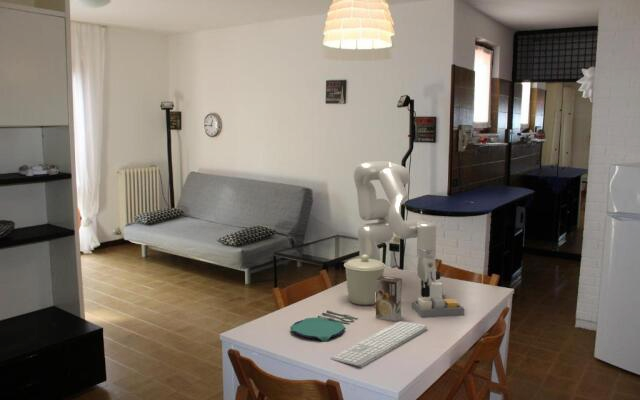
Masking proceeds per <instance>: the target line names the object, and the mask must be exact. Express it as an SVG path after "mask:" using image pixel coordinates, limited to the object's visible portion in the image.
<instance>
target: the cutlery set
mask: <svg viewBox="0 0 640 400" xmlns="http://www.w3.org/2000/svg"><path fill="white" fill-rule="evenodd" d="M321 315H322V316H321ZM321 315H318V316H317V317H306V318H304V319H301V320H299V321H295V322H294V323H293V324H292V325H291V326H290V327H289V329H290V331H291V333H295V335H298V336H301V337H304V338H310V339H319V341H320V340H321V342H327V341H329V339H330V338H333V337H334V338H335V337H337V336H339V335H341V334H342V333H344V331H345V330H346V326H345V325H350V323H351V322H352V323H353V322H354V321H356V320H358V319H359V318H358V317H354V316H352V315H349V314H342V313H338V312H334V311H332V310H328V309H327V310H326V313H325V312H322V313H321ZM325 316H327V317H325ZM332 317H333V318H332ZM335 318H336V319H335ZM338 319H339V320H338ZM344 324H345V325H344Z"/></svg>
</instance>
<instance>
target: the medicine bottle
mask: <svg viewBox="0 0 640 400" xmlns="http://www.w3.org/2000/svg"><path fill="white" fill-rule="evenodd" d="M431 283H432V285H431V286H430V296H429V297H425V298H428V299H429V300H431V297H440V298H442V299H443V290H444V289H443V286H444V285H443V284H444V283H442V281H441V272H440V271H439V270H437V269H436V281H435V282H434V281H432V280H431Z"/></svg>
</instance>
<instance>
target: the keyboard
mask: <svg viewBox="0 0 640 400" xmlns="http://www.w3.org/2000/svg"><path fill="white" fill-rule="evenodd" d="M427 327H428V325H426V324H420V323H413V322H409V321H408V322H407V321H403V320H401V321H400V320H398V321H396V322H395V323H393V324H391V325H389V326H387V327H385V328H383V329H381V330H380V331H377V332H376V333H374V334H372V335H369V336H367V337H366V338H364V339H362V340H360V341H359V342H356V343H355V344H353V345H351V346H350V347H347V348H345V349H343V350H341V351H339V352H338V353H336V354H334V355H332V356H330V358H329V359H330V360H333V361H337V362H340V363H343V364H347V365H351V366H356V367H358V368H363V367H364V366H366V365H367V364H370V363H371V362H373V361H375V360H377V359H378V358H380V357H382V356H383V355H386V354H387V353H388V352H392V351H393V350H394V349H396V348H397V347H399V346H401V345H403V344H404V343H406V342H408V341H410V340H411V339H413V338H414V337H417V336H418V335H420V334H422V333H423V332H425V331H426V329H427Z"/></svg>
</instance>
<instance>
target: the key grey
mask: <svg viewBox="0 0 640 400" xmlns="http://www.w3.org/2000/svg"><path fill="white" fill-rule="evenodd" d="M443 299H444V298H443V297H442V298H440V297H431V299H430V300H431V301H432V305H433V306H434V307H435V308H436V309H439V308H445V301H444V300H443Z"/></svg>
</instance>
